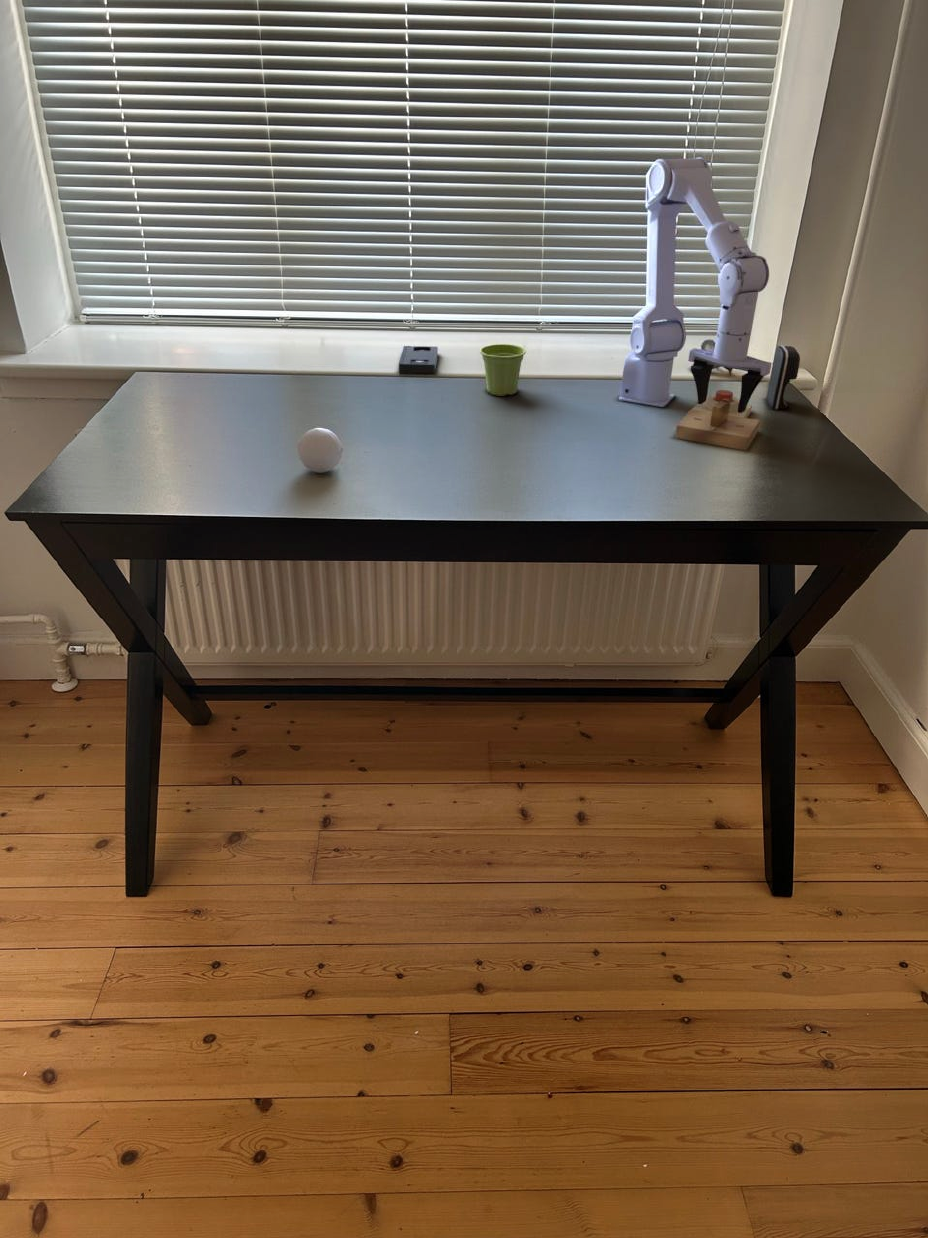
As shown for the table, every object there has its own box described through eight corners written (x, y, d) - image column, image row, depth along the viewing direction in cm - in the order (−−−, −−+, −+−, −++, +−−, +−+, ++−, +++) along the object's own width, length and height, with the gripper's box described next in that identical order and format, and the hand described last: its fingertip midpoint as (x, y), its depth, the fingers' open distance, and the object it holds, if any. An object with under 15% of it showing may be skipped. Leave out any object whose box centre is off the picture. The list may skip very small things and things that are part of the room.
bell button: (712, 402, 172) (714, 393, 171) (716, 397, 174) (718, 388, 173) (729, 404, 170) (731, 396, 169) (733, 400, 173) (734, 391, 172)
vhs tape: (434, 373, 195) (434, 364, 193) (399, 372, 195) (398, 363, 194) (437, 354, 207) (437, 346, 205) (404, 354, 207) (403, 345, 206)
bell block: (690, 416, 173) (692, 401, 171) (700, 404, 179) (703, 389, 177) (742, 424, 169) (744, 409, 167) (750, 412, 175) (753, 397, 173)
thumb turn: (716, 426, 160) (720, 406, 158) (709, 425, 161) (713, 404, 159) (727, 419, 164) (731, 399, 162) (720, 417, 165) (723, 397, 162)
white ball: (345, 478, 146) (342, 435, 142) (300, 481, 145) (296, 438, 141) (341, 455, 155) (338, 414, 151) (298, 457, 153) (294, 417, 149)
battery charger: (791, 411, 175) (803, 353, 169) (771, 410, 176) (783, 352, 170) (784, 399, 181) (796, 343, 175) (765, 398, 182) (776, 342, 175)
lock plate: (674, 438, 163) (676, 424, 161) (689, 421, 170) (691, 408, 169) (746, 450, 158) (748, 436, 156) (757, 432, 165) (760, 419, 164)
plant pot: (472, 395, 182) (473, 353, 177) (488, 382, 189) (489, 341, 185) (515, 401, 179) (517, 358, 174) (529, 387, 187) (532, 346, 182)
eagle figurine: (738, 363, 199) (700, 350, 201) (744, 341, 192) (705, 329, 194) (725, 388, 196) (687, 375, 198) (731, 367, 190) (691, 354, 192)
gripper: (783, 333, 153) (767, 409, 160) (704, 319, 160) (693, 393, 167) (768, 341, 148) (753, 419, 155) (688, 327, 155) (677, 403, 162)
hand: (721, 406), depth 161 cm, fingers open, 7 cm apart
